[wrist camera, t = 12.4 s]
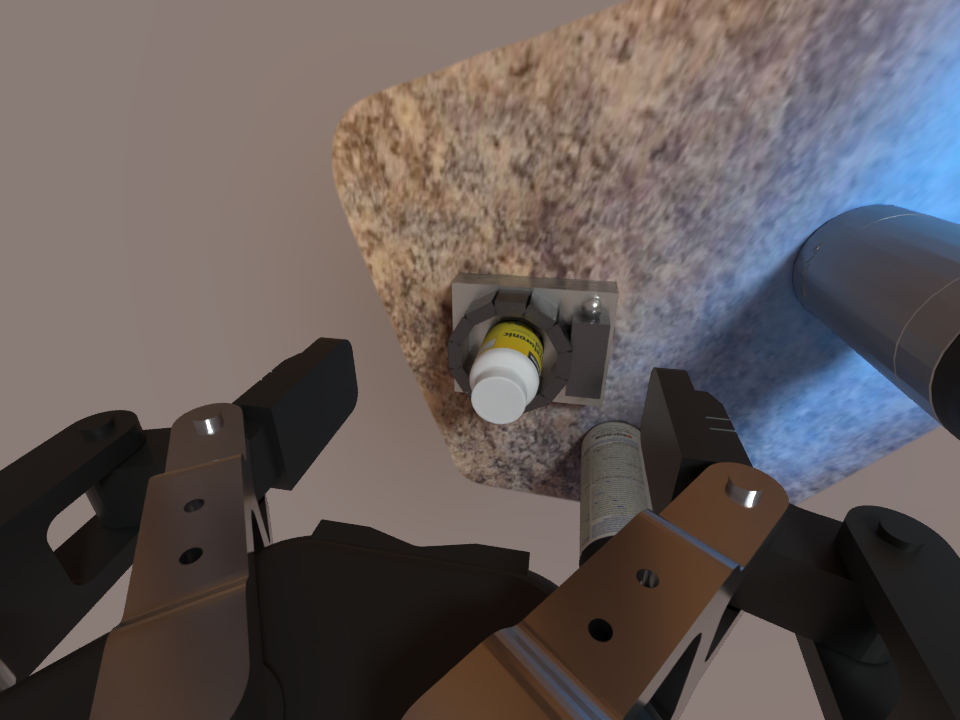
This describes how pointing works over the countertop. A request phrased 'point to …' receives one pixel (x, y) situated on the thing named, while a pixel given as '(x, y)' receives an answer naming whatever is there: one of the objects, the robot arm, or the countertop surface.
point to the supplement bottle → (506, 370)
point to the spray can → (610, 484)
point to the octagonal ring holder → (555, 314)
